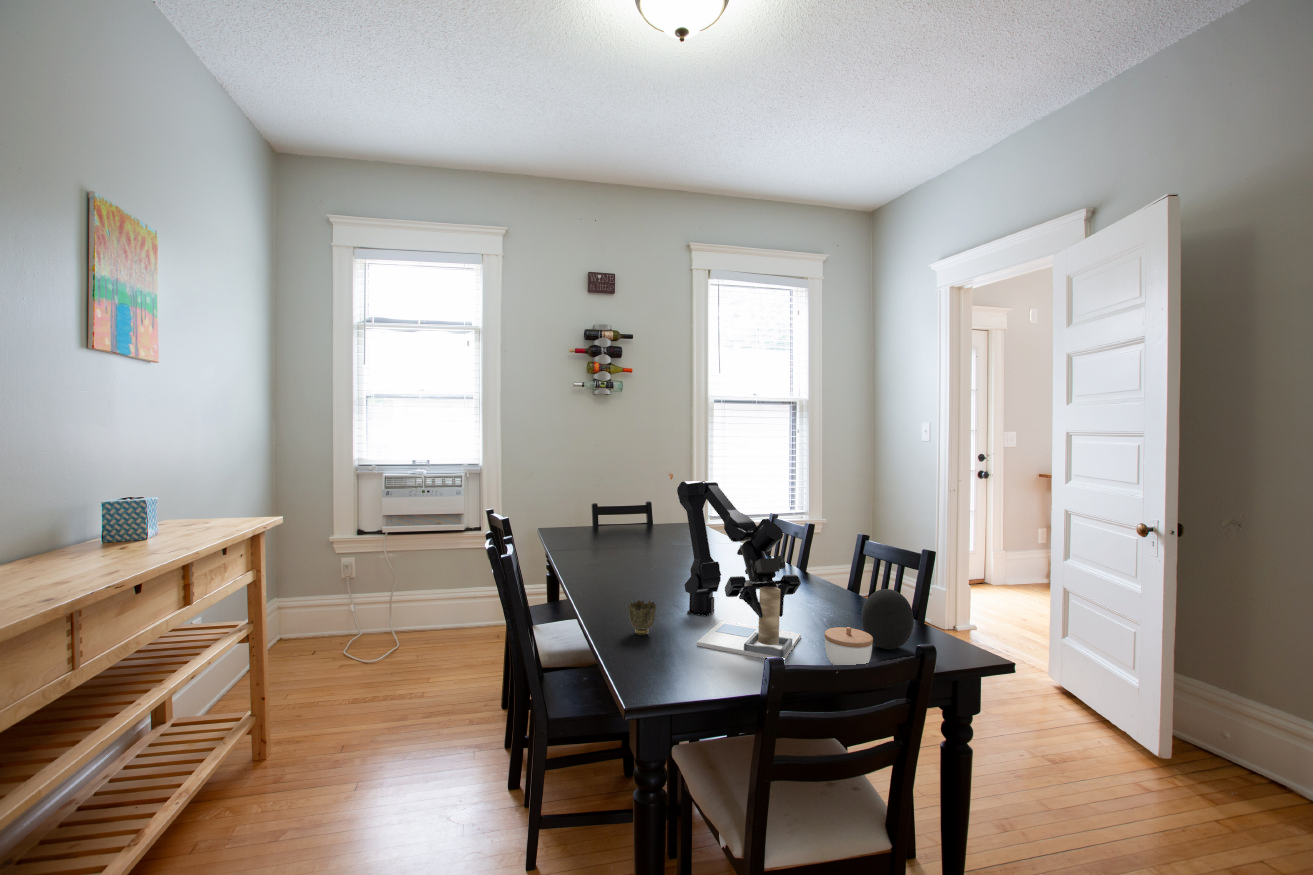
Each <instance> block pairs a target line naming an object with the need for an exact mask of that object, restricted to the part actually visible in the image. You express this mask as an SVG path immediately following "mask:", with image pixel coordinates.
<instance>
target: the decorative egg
mask: <svg viewBox="0 0 1313 875" xmlns="http://www.w3.org/2000/svg"><path fill="white" fill-rule="evenodd" d="M907 599H908V598H906V597H905V596H904V595H903V594H901V593H900V592H898V591H897V590H895V589H890V588H881V589H878V590H876V591H875V592H873V593H871V594H870V595H869V596H868V598H867V599H865V601H864V604H863V607H862V609H861V610H862V611H861V626H862V629H863V631H864V632H866V633H868V634H870V635H871V636H872V637H873V643H872V645H873V644H874V646H876V647H878V648H880V649H883V650H895V649H898V648H900V647H902V646H904V644H905V643H907V641H908V640H909V639H910V637H911V636H912V633H913V629H914V623H915V621H914V620H915V619H914V612H913V609H912V606H911V604H910V602H909V601H908V600H907Z"/></svg>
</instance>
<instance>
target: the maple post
mask: <svg viewBox="0 0 1313 875" xmlns="http://www.w3.org/2000/svg"><path fill="white" fill-rule="evenodd" d="M758 601H759V604H760V607H761V610H762V615H763V616H762V618H760V617H759V616H758V627H759V629H758V642H760V643H762V644H765V645H776V644H778V643H779V630H780V618H781V617H780V589H779V588H776V587H770V586H765V587H761V588H760V589H759V598H758Z"/></svg>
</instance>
